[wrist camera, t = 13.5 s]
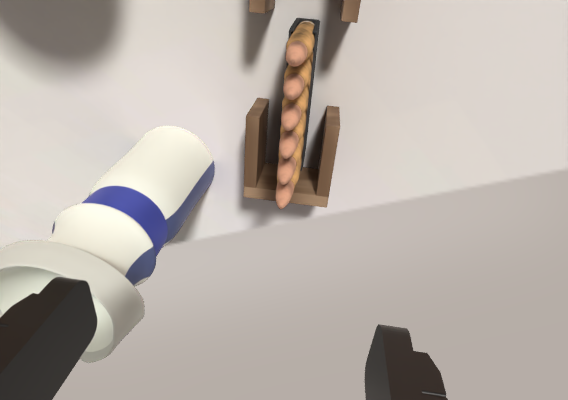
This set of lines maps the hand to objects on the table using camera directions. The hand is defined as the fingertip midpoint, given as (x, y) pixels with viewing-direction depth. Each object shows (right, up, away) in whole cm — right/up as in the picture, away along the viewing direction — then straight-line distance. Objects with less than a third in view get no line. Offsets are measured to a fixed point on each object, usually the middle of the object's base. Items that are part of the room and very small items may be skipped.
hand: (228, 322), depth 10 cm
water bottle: (-9, +7, +26) cm, 29 cm away
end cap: (+2, +9, +24) cm, 25 cm away
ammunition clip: (+3, +13, +21) cm, 25 cm away
